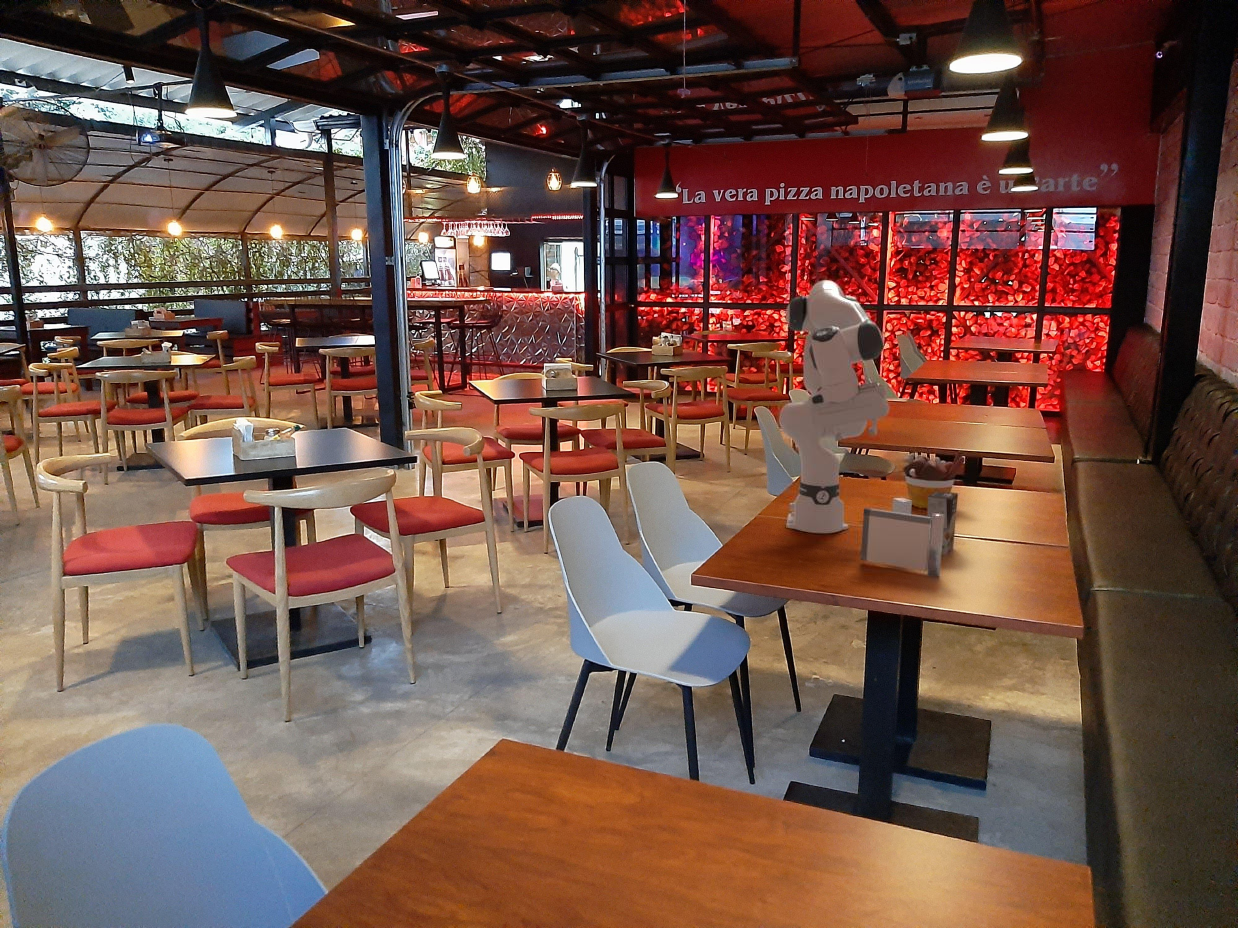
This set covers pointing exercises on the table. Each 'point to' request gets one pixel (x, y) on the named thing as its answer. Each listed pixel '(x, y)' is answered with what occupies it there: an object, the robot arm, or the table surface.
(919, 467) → the bucket of meat
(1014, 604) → the table surface
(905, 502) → the post
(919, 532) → the gate
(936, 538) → the hinge post
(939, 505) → the coffee box
